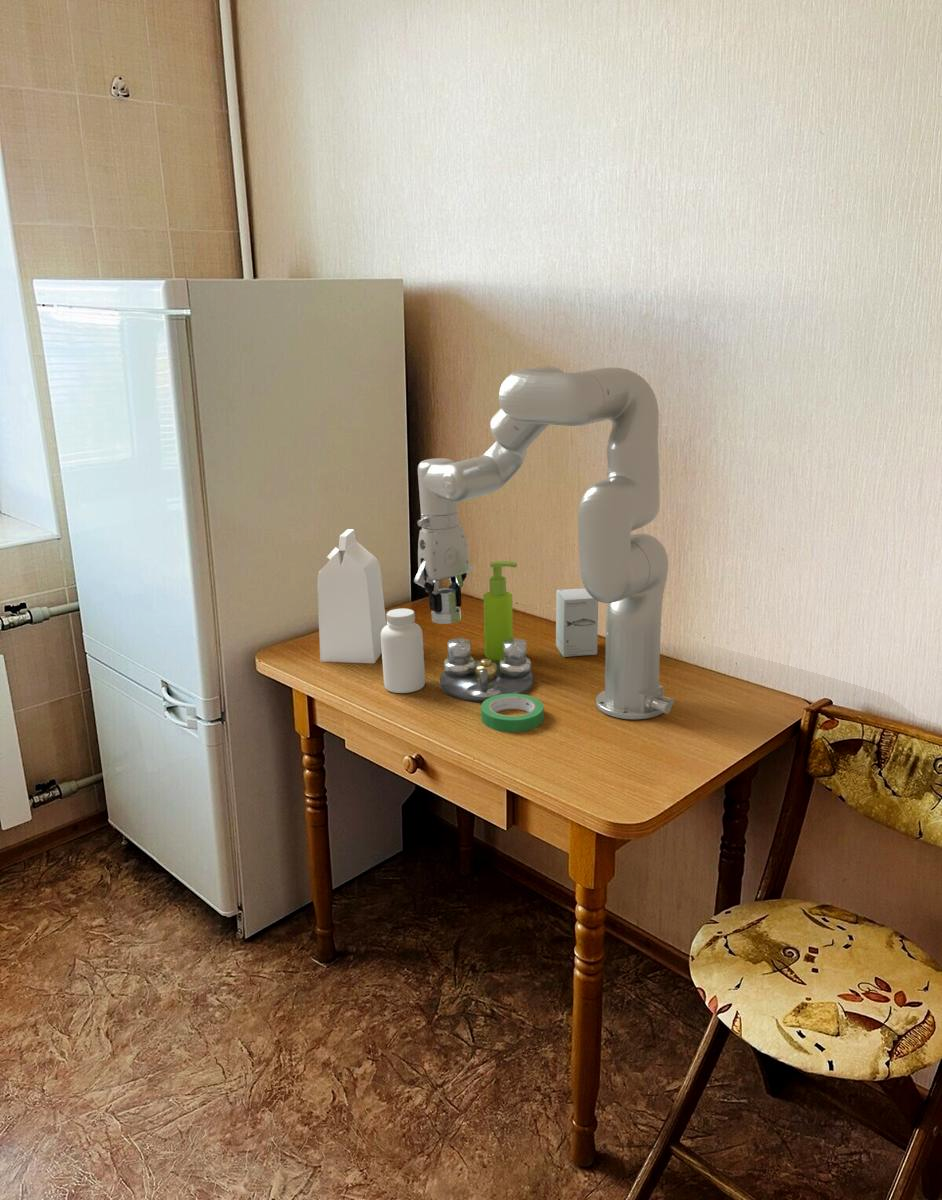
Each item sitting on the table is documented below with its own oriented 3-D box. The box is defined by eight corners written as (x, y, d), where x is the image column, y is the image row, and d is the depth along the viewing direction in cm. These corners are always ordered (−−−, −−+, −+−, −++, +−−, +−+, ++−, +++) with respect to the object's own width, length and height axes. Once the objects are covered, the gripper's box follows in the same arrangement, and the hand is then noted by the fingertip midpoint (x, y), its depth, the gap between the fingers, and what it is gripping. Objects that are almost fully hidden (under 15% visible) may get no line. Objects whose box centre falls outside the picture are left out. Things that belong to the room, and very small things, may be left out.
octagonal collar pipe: (466, 618, 196) (464, 590, 194) (444, 625, 193) (442, 597, 191) (448, 613, 200) (446, 585, 199) (426, 619, 197) (424, 592, 195)
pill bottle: (399, 675, 189) (395, 603, 184) (433, 682, 185) (430, 609, 180) (375, 689, 182) (370, 615, 178) (410, 697, 178) (406, 622, 174)
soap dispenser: (518, 659, 195) (517, 566, 189) (484, 660, 195) (482, 566, 189) (517, 649, 201) (516, 558, 194) (484, 650, 201) (482, 558, 195)
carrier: (552, 683, 183) (552, 648, 181) (481, 710, 172) (480, 673, 170) (490, 658, 196) (489, 625, 194) (420, 682, 185) (419, 647, 183)
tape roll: (549, 730, 164) (549, 716, 164) (486, 735, 163) (486, 721, 162) (536, 704, 175) (536, 690, 174) (477, 709, 173) (476, 695, 173)
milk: (374, 663, 195) (366, 540, 187) (320, 661, 197) (310, 539, 189) (388, 642, 207) (381, 525, 199) (337, 641, 208) (328, 525, 200)
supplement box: (563, 658, 195) (563, 599, 191) (555, 645, 202) (555, 588, 198) (598, 655, 196) (599, 597, 192) (589, 643, 203) (590, 586, 199)
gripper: (417, 531, 183) (424, 621, 188) (484, 516, 193) (488, 602, 198) (394, 526, 188) (402, 614, 194) (460, 511, 199) (465, 595, 204)
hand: (445, 607), depth 196 cm, fingers closed on octagonal collar pipe, 4 cm apart
